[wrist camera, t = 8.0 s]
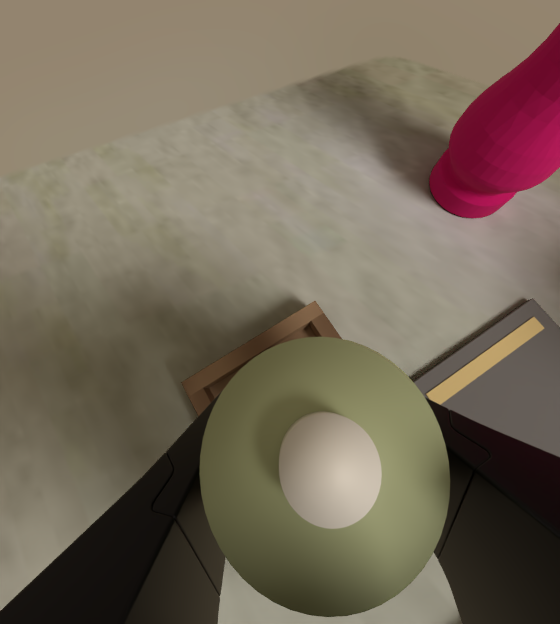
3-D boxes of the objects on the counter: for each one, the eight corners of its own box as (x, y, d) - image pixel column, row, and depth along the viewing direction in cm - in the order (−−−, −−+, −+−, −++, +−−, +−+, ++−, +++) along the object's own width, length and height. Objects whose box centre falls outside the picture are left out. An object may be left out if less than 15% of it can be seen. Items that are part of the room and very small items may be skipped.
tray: (266, 528, 16) (264, 546, 15) (191, 383, 19) (181, 382, 17) (397, 433, 18) (411, 438, 16) (311, 309, 20) (315, 300, 18)
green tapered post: (306, 467, 16) (401, 739, 3) (242, 424, 16) (129, 524, 4) (342, 398, 17) (512, 417, 4) (280, 360, 17) (282, 286, 5)
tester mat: (533, 571, 16) (540, 576, 15) (401, 389, 19) (404, 389, 18) (666, 450, 18) (676, 452, 17) (528, 300, 20) (533, 298, 20)
